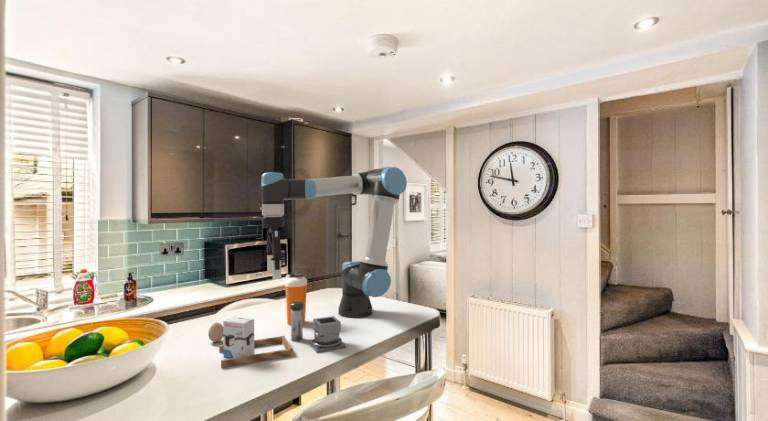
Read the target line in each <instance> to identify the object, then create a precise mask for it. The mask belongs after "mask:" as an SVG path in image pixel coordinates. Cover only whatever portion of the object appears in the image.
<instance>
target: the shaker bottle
mask: <svg viewBox="0 0 768 421" xmlns="http://www.w3.org/2000/svg"><path fill="white" fill-rule="evenodd" d="M307 286H308V280H307V278H306V277H305V273H295V272H292V273H289V274H286V276H285V280H284V287H285V303H286V321H287V322H286V323H287V325H289V326H291V309H290V303H292V302H303V303H304V307H303V325H305V323H306V313H307V312H306V309H307V308H306V307H307V306H306V305H307V290H308V289H307Z"/></svg>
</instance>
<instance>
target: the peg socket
mask: <svg viewBox="0 0 768 421" xmlns="http://www.w3.org/2000/svg"><path fill="white" fill-rule="evenodd" d="M312 322H313V323H312V329H313V330H314V331H313V332H314V338H311V339H308V344H309V345H310V346H311V348H312V349H313V350H314V352H315V353H316V354H317V353H323V352H329V351H334V350H335V351H336V350H341V349H346V346H347V345H346V344H345V342H343V340H342V338H341V337H340V333H342V322H341V321H340V320H339V319H338V318H337V317H335V316H334V315H333V316H332V315H331V316H326V317H318V318H313V319H312Z"/></svg>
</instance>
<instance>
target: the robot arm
mask: <svg viewBox="0 0 768 421" xmlns="http://www.w3.org/2000/svg"><path fill="white" fill-rule="evenodd" d="M407 181H408V180H407V177H406V175H405V174H404V172H403V170H401V169H400V168H398V167H396V166H387V167H380V168H375V169H371V170H367V171H363V172H356V173H354V174H352V175H345V176H334V177H333V176H332V177H320V178H302V179H301V178H285V177H284V174H283V173H282V172H272V171H271V172H264V173H263V174H261V180H260V182H261V183H260V184H261V185H260V188H261V206H260V208H259V209H260V210H261V216H263V217H262V218H261V227H262V228H263V229H264V228H265V229H266V232H267V233H266V250H265V251H266V254H267V255H266V256H267V257H266V258H267V259H266V260H267V261H266V262H267V265H266V266H267V268H266V269H267V274H272V280H273V281H275V280H281V279H282V259H283V253H282V242H281V230H279V228H284V226H285V218H284V215H285V203H284V202H285V201H290V200H312V199H314V198H317V197H327V196H339V195H348V194H355V195H357V196H359V195H371V198H372V199H373V207H372V208H373V209H372V213H371V214H372V215H371V220H370V227H369V232H368V238H367V244H366V249H365V250H366V251H365V254H364V255H365V256H364V258H362V259H361V260H355V261H354V260H353V261H346V262H343V263H342V267H341V268H342V269H341V276H342V277H341V281H342V282H341V284H342V286H341V290H342V291H341V293H342V296H341V300H340V303H339V305H338V311H337V313H338V315H339V316H341V317H346V318H363V317H364V318H365V317H368V316H370V315H373V305H372V302H371V299H370V297H372V298H379V297H381V296H384V294H386V293H388V290H389V289H390V287H391V283H392V279H391V275H390V274H389V272H388V269H389V264H388V263H387V261H386V259H387V252H388V246H389V241H390V240H389V239H390V234H391V229H392V228H391V226H392V223H393V215H394V209H395V205H396V204H397V203H398V202H399V200H400V195H402V194H403V192H405V191H406V189H407V185H408V183H407Z"/></svg>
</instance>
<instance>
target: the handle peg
mask: <svg viewBox="0 0 768 421" xmlns="http://www.w3.org/2000/svg"><path fill="white" fill-rule="evenodd" d="M303 307H304V303H303V302H292V303H290V309H291V325H290V332H291V333H290V340H291V342H301V341H302V340H304V338H303V337H304V335H303V332H304V331H303V325H304V324H303Z"/></svg>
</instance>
